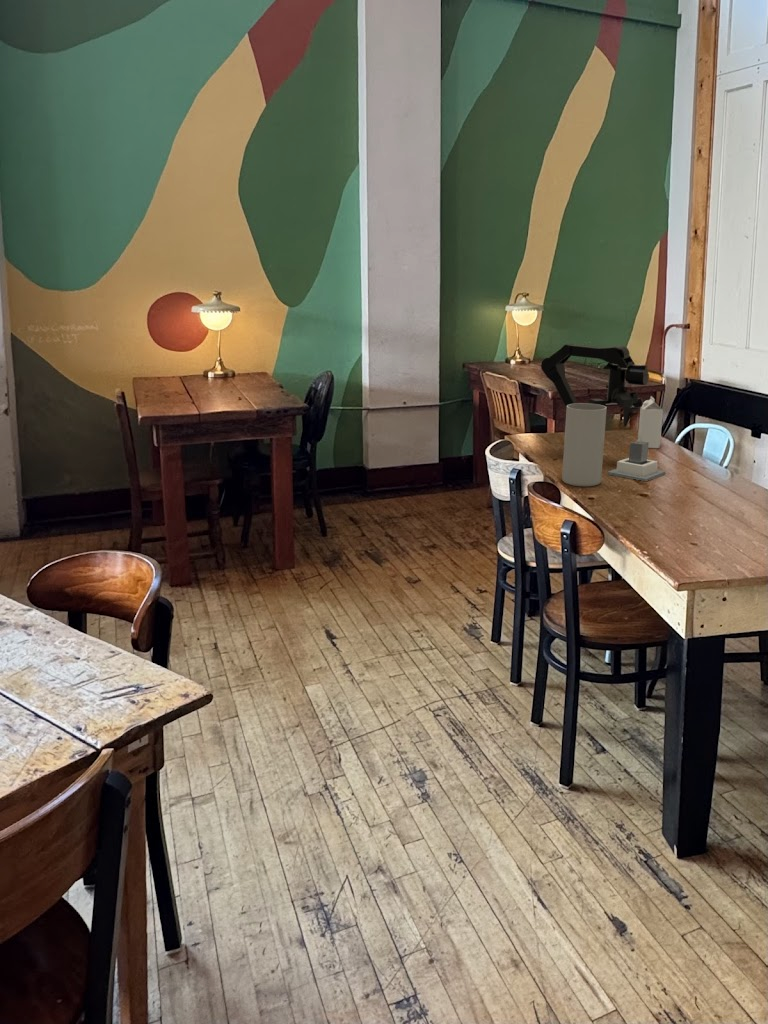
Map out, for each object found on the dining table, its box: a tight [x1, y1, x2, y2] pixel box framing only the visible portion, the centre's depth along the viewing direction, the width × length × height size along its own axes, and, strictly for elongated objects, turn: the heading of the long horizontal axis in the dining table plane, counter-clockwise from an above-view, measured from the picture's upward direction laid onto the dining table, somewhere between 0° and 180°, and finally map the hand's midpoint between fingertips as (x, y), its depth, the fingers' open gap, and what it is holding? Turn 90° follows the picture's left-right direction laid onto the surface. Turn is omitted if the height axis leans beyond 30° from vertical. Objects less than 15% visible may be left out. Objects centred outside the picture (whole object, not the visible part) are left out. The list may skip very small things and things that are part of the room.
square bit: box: [628, 440, 649, 465], centre depth 298 cm, size 4×4×10 cm
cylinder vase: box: [561, 402, 608, 488], centre depth 286 cm, size 12×12×25 cm
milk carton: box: [637, 395, 664, 449], centre depth 338 cm, size 7×7×19 cm
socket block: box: [607, 457, 666, 482], centre depth 299 cm, size 14×14×4 cm
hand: (613, 427), depth 311 cm, fingers open, 9 cm apart
